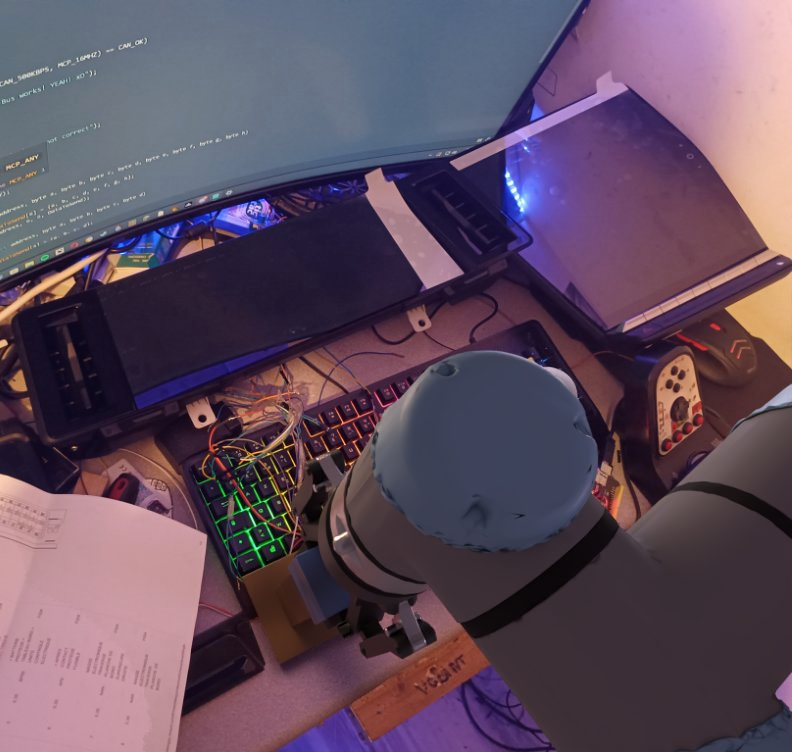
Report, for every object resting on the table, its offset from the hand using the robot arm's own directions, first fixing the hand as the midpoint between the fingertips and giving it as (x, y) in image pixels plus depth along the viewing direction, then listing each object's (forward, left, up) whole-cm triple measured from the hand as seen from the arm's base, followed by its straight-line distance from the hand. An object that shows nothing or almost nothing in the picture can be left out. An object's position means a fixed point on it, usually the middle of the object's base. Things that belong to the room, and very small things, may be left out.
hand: (324, 585), depth 60 cm
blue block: (0, 0, +2) cm, 2 cm away
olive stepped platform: (0, 0, -14) cm, 14 cm away
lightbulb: (+8, -31, -13) cm, 35 cm away
